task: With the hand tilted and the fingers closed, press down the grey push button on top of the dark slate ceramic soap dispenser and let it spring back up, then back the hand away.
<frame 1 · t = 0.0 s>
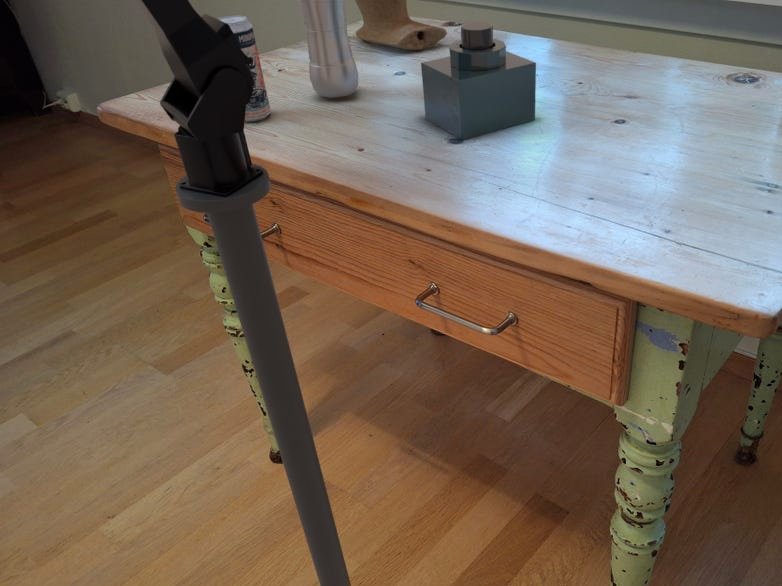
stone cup: (393, 46, 118), on the table
plastic bottle: (337, 96, 99), on the table
dispenser: (479, 119, 90), on the table
beer can: (253, 118, 93), on the table
grey push button: (477, 37, 84), point 10 cm above the table, slide at 0.1 cm
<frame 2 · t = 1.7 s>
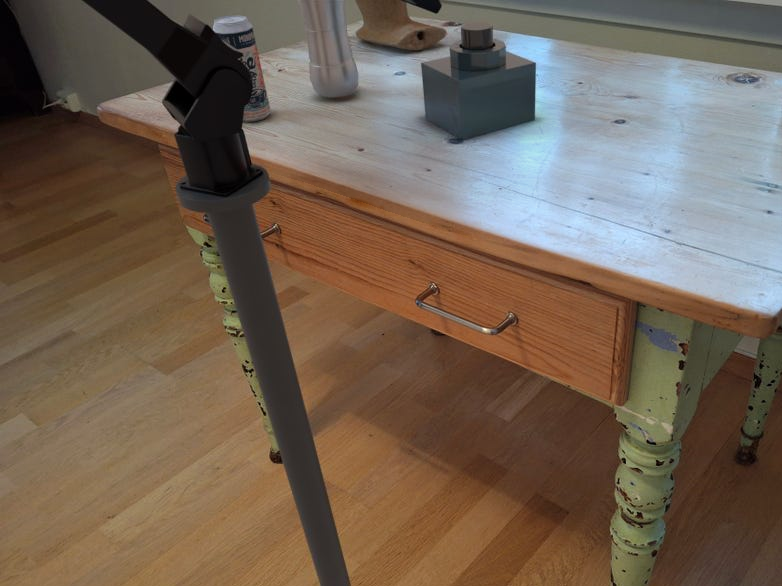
hand: (438, 9, 79), 14 cm above the table, tool tilted 45°, fingers closed
nothing on the table moved.
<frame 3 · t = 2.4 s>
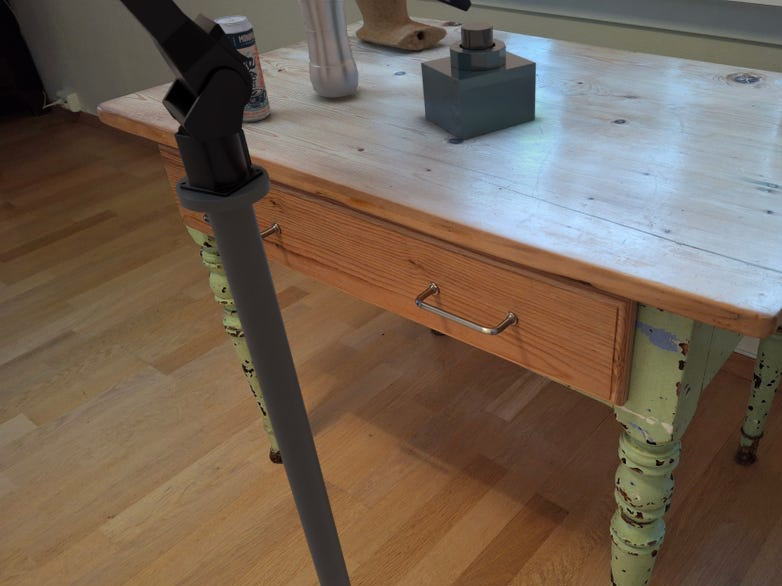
hand: (467, 7, 81), 13 cm above the table, tool tilted 45°, fingers closed
nothing on the table moved.
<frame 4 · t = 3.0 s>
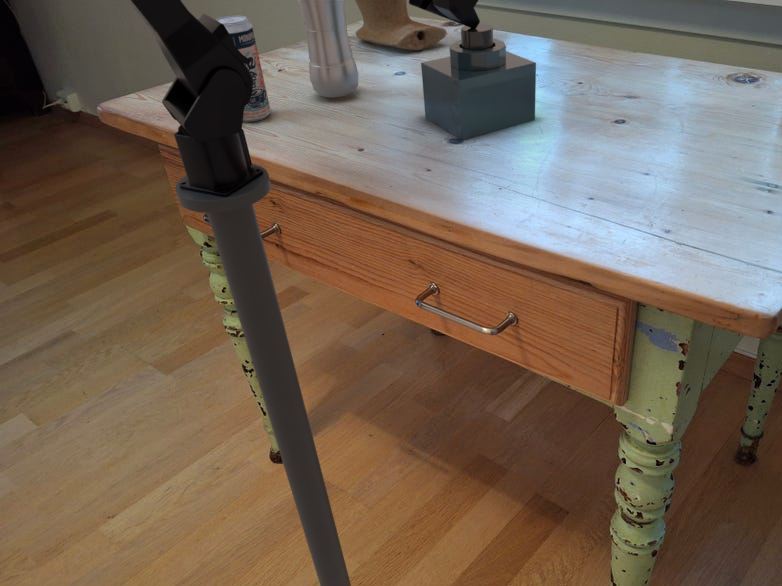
hand: (476, 24, 83), 11 cm above the table, tool tilted 45°, fingers closed, pressing on grey push button
grey push button: (477, 39, 84), point 10 cm above the table, slide at -0.1 cm, touching gripper
everything else where it was.
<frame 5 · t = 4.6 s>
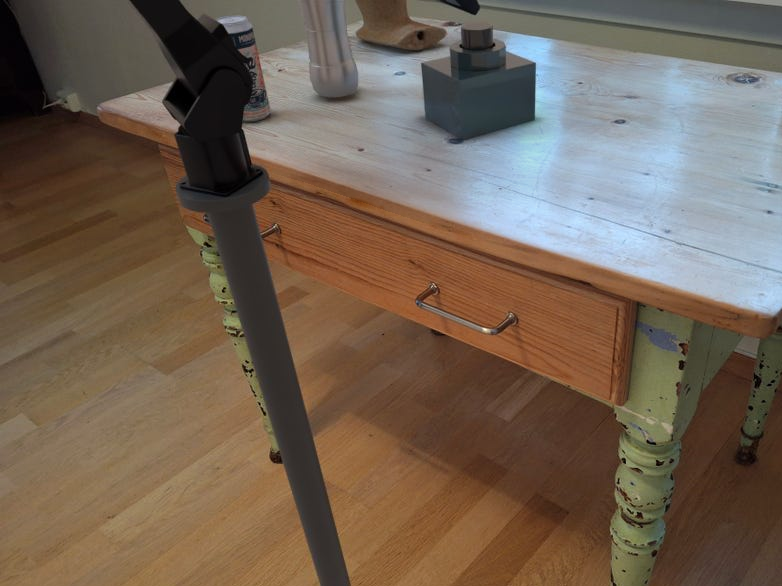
hand: (476, 11, 82), 13 cm above the table, tool tilted 45°, fingers closed
grey push button: (477, 37, 84), point 10 cm above the table, slide at 0.1 cm
everything else where it was.
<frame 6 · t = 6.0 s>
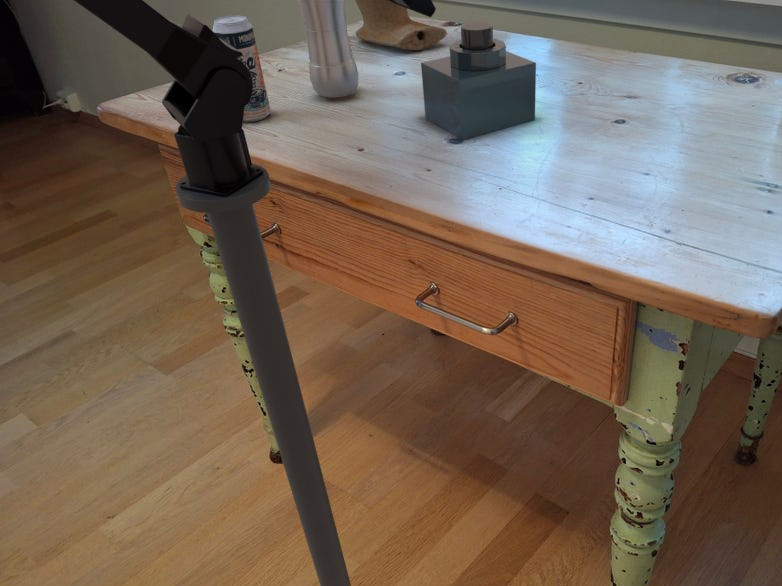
hand: (432, 12, 79), 13 cm above the table, tool tilted 45°, fingers closed
nothing on the table moved.
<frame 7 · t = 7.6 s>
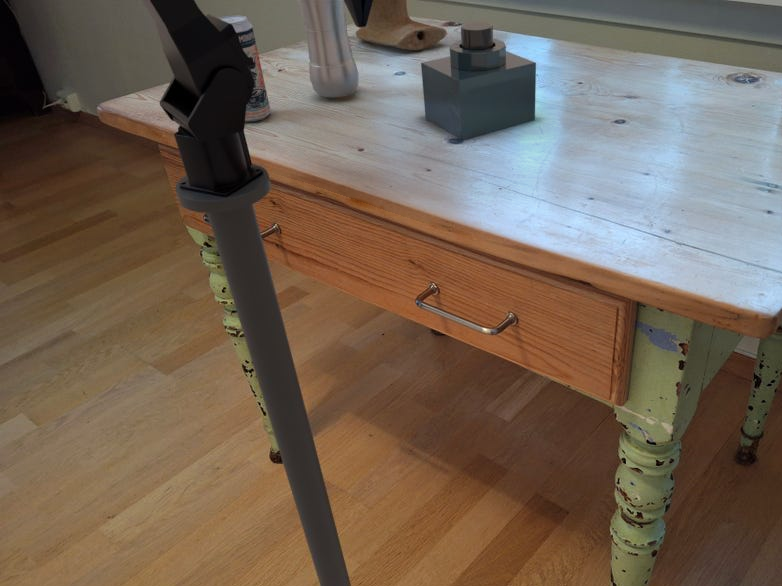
hand: (360, 26, 77), 13 cm above the table, tool pointing down, fingers closed
nothing on the table moved.
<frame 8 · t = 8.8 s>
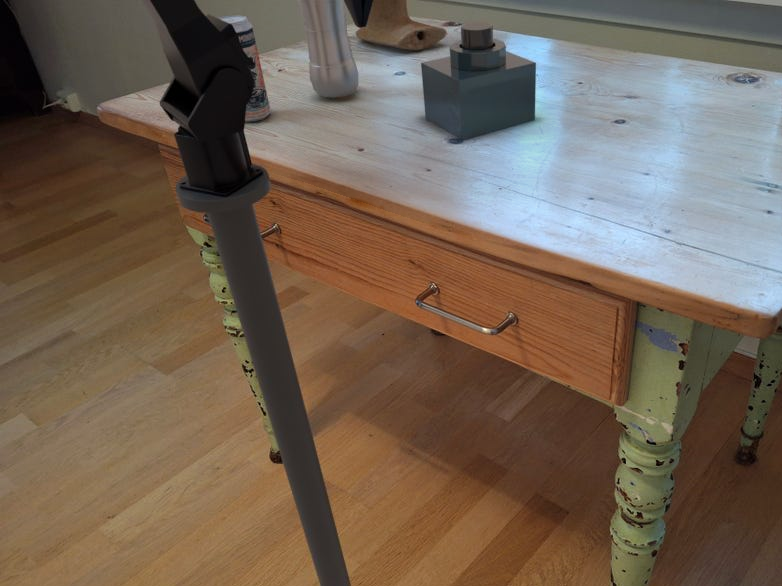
hand: (360, 26, 77), 13 cm above the table, tool pointing down, fingers closed
nothing on the table moved.
at the end: grey push button pushed in 1.4 cm at the most during the clip, back to where it started at the end; grey push button slide at 0.1 cm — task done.
